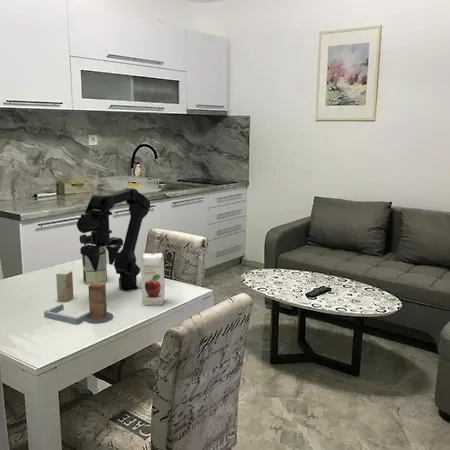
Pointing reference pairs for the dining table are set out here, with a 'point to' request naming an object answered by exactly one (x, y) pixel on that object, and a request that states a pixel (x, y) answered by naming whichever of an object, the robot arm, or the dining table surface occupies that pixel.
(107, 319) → the coaster
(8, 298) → the dining table surface
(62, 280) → the box
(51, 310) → the grey u-frame
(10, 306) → the dining table surface
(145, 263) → the juice carton
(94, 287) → the walnut block
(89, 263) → the coffee can
